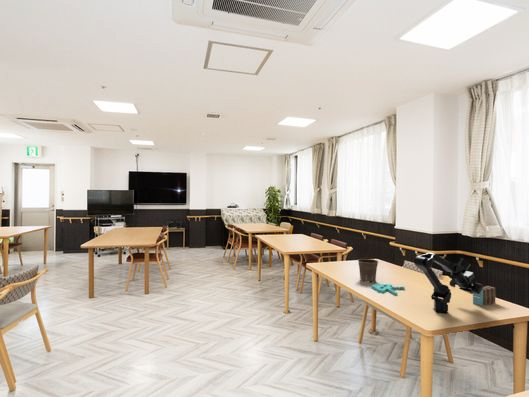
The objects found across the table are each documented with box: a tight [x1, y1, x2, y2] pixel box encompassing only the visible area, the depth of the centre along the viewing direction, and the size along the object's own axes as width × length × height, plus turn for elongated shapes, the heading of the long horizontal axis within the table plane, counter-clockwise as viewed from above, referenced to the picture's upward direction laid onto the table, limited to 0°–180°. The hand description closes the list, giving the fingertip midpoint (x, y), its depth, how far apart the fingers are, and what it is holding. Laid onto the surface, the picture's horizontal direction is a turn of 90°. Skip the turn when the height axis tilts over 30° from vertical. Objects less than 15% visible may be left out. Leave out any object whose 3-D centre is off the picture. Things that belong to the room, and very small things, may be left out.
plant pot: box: [357, 258, 379, 282], centre depth 260 cm, size 16×16×16 cm
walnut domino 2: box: [483, 286, 492, 305], centre depth 203 cm, size 2×5×10 cm, turn 21°
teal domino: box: [472, 290, 484, 307], centre depth 200 cm, size 2×5×10 cm, turn 22°
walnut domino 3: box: [484, 285, 496, 305], centre depth 205 cm, size 2×5×10 cm, turn 21°
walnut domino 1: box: [482, 288, 488, 306], centre depth 202 cm, size 2×5×10 cm, turn 21°
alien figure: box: [371, 283, 406, 296], centre depth 233 cm, size 20×2×20 cm
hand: (472, 293), depth 198 cm, fingers closed
